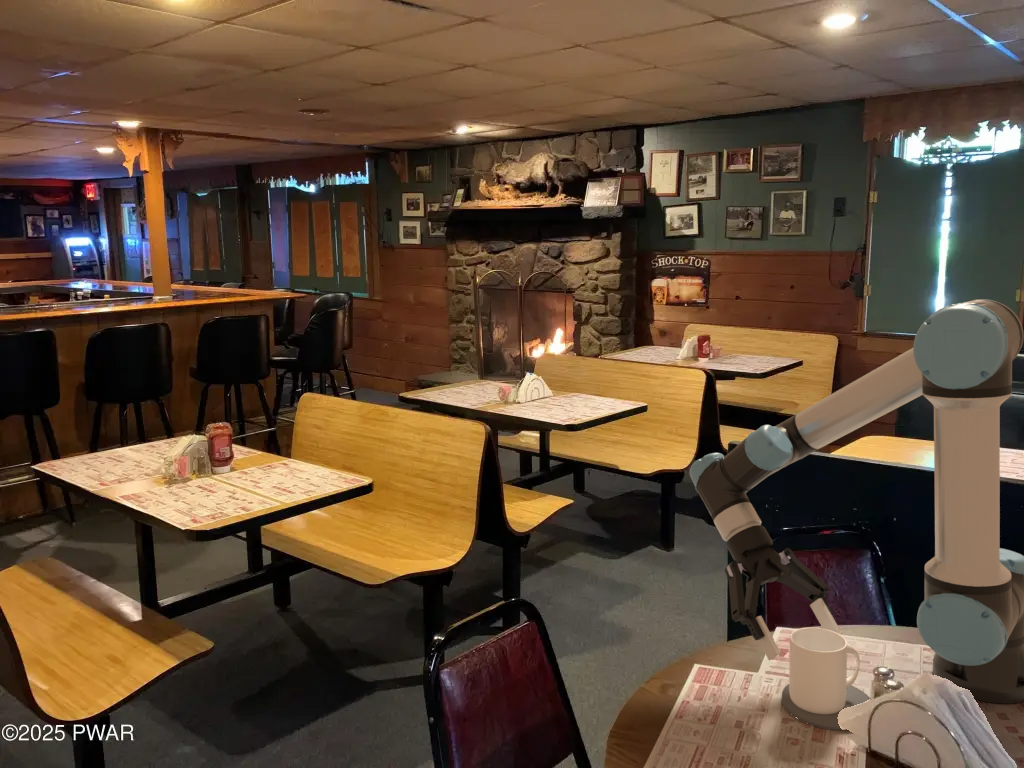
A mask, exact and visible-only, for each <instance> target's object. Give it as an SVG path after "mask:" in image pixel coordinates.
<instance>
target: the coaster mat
mask: <svg viewBox="0 0 1024 768" xmlns="http://www.w3.org/2000/svg"><path fill="white" fill-rule="evenodd" d="M869 699H871V700H872V698H871V697H870V696H869V695H868V694H867V693H865V692H864V691H863V690H861V689H859V688H857V687H856V686H853V684H852V685H851V686H850V687H849V688H847V689H846V703H845V706H844V707H843V709H844V708H847V707H851V706H854V705H857V704H860V703H863V702H865V701H867V700H869ZM781 703H783V704H782V706H783V705H784V706H783V708H784V707H785V708H784V709H785V711H786V710H787V711H788V712H789V713H790V714H789V713H788V712H787V711H786V712H787V713H788V714H789V715H791V714H792V715H793V716H794V717H793V716H792V715H791V716H792V717H793V718H795V717H797V718H798V719H799V720H798V719H797V720H798V721H800V720H801V721H800V722H802V721H803V722H802V723H804V722H805V723H804V724H806V723H808V724H807V725H809V724H810V725H809V726H811V725H813V726H812V727H815V726H817V727H816V728H818V727H820V728H819V729H822V728H824V729H823V730H828V729H829V730H831V731H840V732H841V731H842V729H841V728H840V726H839V724H838V719H837V717H838V714H839V712H840V711H841V710H840V711H839V712H837V713H834V714H826V715H824V714H815V713H811V712H807V711H805V710H803V709H801V708H799V707H798V706H796V705H795V704H794V703H793V701H792V700H791V698H790V693H789V683H788V684H786V686H784V688H783V689H782V692H781ZM829 730H828V731H829ZM842 732H843V731H842Z"/></svg>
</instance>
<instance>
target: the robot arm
mask: <svg viewBox="0 0 1024 768" xmlns="http://www.w3.org/2000/svg"><path fill="white" fill-rule="evenodd" d="M1023 343H1024V329H1023V325H1022V322H1021V320H1020V318H1019V316H1018V315H1017V314H1016V313H1015V312H1014V311H1013V310H1012V309H1011V308H1010V307H1008V305H1005V304H1004V303H1001V302H998V301H996V300H992V299H984V298H981V299H973V300H968V301H964V302H959V303H955V304H953V303H952V304H950V305H947V306H944V307H942V308H940V309H938V310H937V311H935V312H934V313H932V314H931V315H930V316H929V317H928V318H927V319H926V320H924V321H923V323H922V324H921V325H920V327H919V329H918V330H917V332H916V334H915V336H914V340H913V347H912V348H910V349H908V350H907V351H905V352H903V353H901V354H899V355H898V356H896V357H895V358H893V359H891V360H888V361H887V362H885V363H883V364H882V365H881V366H878V367H877V368H875V369H873V370H871V371H870V372H868V373H866V374H865V375H863V376H861V377H859V378H857V379H856V380H854V381H852V382H851V383H848V384H847V385H845V386H843V387H842V388H840V389H838V390H836V391H834V392H833V393H831V394H829V395H828V396H826V397H824V398H823V399H821V400H819V401H817V402H815V403H814V404H812V405H810V406H809V407H807V408H805V409H804V410H802V411H800V412H798V413H797V414H795V415H793V416H790V417H789V418H787V419H786V420H784V421H782V422H780V423H779V424H776V425H775V426H772V425H770V424H764V425H761V426H760V427H759V428H757V429H756V430H754V431H753V432H750V433H749V434H748V435H747V437H746V438H745V439H743V440H742V441H741V442H740V443H739V444H737V445H736V446H735V447H734V448H733V449H732V450H730V451H729V452H728V453H727V454H726V455H724V454H723V453H721V452H712V453H711V452H710V453H708V454H706V455H704V456H703V457H701V458H699V459H697V460H695V461H694V462H693V463H692V465H691V466H690V468H689V476H690V478H691V481H692V483H693V485H694V488H695V492H696V493H697V494H698V496H699V497H700V498H701V501H702V502H703V504H704V506H705V508H706V509H707V511H708V513H709V515H710V516H711V519H712V521H713V523H714V525H715V527H716V529H717V530H718V532H719V535H720V537H721V538H722V540H723V541H724V542H726V545H725V546H726V548H727V550H728V552H729V554H730V555H731V556H732V557H731V558H732V559H733V561H731V562H730V563H729V564H728V565H727V566H726V567H725V569H724V572H725V575H726V576H727V580H728V587H729V599H730V613H731V619H732V621H733V622H735V623H736V622H740V624H741V625H743V626H745V625H746V626H747V627H748V629H749V631H750V634H751V635H752V637H753V639H754V640H755V641H758V643H759V644H760V646H761V648H762V650H763V652H764V653H765V654H764V655H765V656H766V658H767V660H768V661H770V660H773V659H775V658H777V656H779V655H781V651H780V649H779V647H778V645H777V643H776V641H775V639H774V637H773V635H772V633H771V632H770V630H769V628H768V626H767V624H766V622H765V620H764V618H763V617H762V615H758V616H757V608H758V602H759V595H760V588H761V586H763V585H765V584H766V583H773V582H777V583H782V584H784V585H785V586H787V587H789V588H790V589H791V590H793V591H795V592H796V593H797V594H799V595H801V596H803V597H804V598H805V599H807V600H809V601H810V602H812V603H810V604H809V607H810V609H811V610H812V611H813V614H814V615H815V617H816V619H817V621H818V623H819V625H821V628H822V629H827V630H830V631H833V632H836V633H838V634H840V635H841V636H842V634H843V632H842V631H841V629H840V627H839V625H838V623H837V622H836V620H835V619H834V617H833V616H834V613H833V610H832V609H831V607H830V605H829V604H828V601H826V598H825V597H826V595H827V594H828V593H829V592H830V590H831V589H830V586H829V585H828V584H826V583H825V582H824V581H823V580H822V579H821V578H819V577H818V576H817V575H816V574H815V572H813V571H812V570H811V569H810V568H808V567H807V566H806V565H805V564H804V563H803V562H802V561H801V560H799V559H798V558H797V556H796V555H795V553H794V552H793V550H792V549H791V548H789V547H786V548H785V549H784V550H783V551H782V552H779V553H778V552H777V551H776V550H775V548H774V543H773V542H774V541H773V539H772V538H771V536H770V535H769V533H768V530H767V528H766V527H765V526H763V525H762V519H761V518H760V517H759V515H758V513H757V511H756V509H755V507H754V506H753V504H752V503H751V501H750V499H749V497H748V495H747V493H748V492H749V491H751V490H753V488H754V487H756V486H757V485H759V484H760V483H761V482H762V481H764V480H765V479H767V478H768V477H769V476H771V475H773V474H775V473H777V472H779V471H780V470H781V469H783V468H786V467H788V466H789V465H791V464H793V463H796V462H798V461H800V460H803V459H804V458H805V457H808V456H809V455H810V454H813V453H814V452H816V451H817V450H819V449H822V448H824V447H825V446H827V445H828V444H831V443H833V442H835V441H837V440H838V439H841V438H842V437H844V436H846V435H849V434H850V433H852V432H854V431H856V430H858V429H860V428H861V427H863V426H865V425H867V424H869V423H871V422H873V421H874V420H877V419H878V418H880V417H882V416H885V415H887V414H888V413H890V412H893V411H894V410H896V409H898V408H900V407H902V406H904V405H906V404H908V403H909V402H911V401H913V400H915V399H917V398H919V397H921V396H923V397H924V398H925V399H927V400H928V401H929V402H930V403H931V404H932V406H933V441H934V442H933V446H934V447H933V453H934V454H933V455H934V458H933V459H934V462H933V463H934V465H933V466H934V468H933V469H934V471H933V473H934V550H935V551H934V556H933V557H932V558H931V559H930V560H928V561H926V563H925V564H924V600H923V601H922V602H921V603H920V605H919V607H918V611H917V616H916V625H917V630H918V632H919V635H920V637H921V639H922V640H923V642H924V643H925V645H927V646H928V647H930V649H931V650H932V651H934V655H933V659H932V674H935V675H937V676H940V677H942V678H946V679H948V680H950V681H952V682H953V683H954V684H956V685H957V686H959V687H962V688H965V689H968V690H970V692H971V693H972V695H973V696H974V698H975V699H974V700H977V701H982V702H987V703H994V704H995V703H996V704H1017V703H1023V702H1024V555H1023V554H1021V553H1019V552H1016V551H1013V550H1010V549H1006V548H1001V547H1000V543H1001V542H1000V541H1001V540H1000V534H1001V533H1000V532H1001V531H1000V529H1001V528H1000V525H1001V524H1000V523H1001V522H1000V521H1001V520H1000V519H1001V517H1000V516H1001V513H1000V511H1001V509H1000V508H1001V507H1000V503H1001V502H1000V497H1001V496H1000V494H1001V493H1000V492H1001V489H1000V488H1001V487H1000V485H1001V483H1000V482H1001V481H1000V480H1001V478H1000V476H1001V475H1000V473H1001V471H1000V469H1001V468H1000V467H1001V465H1000V464H1001V461H1000V454H1001V453H1000V451H1001V449H1000V448H1001V447H1000V446H1001V443H1000V442H1001V437H1000V435H1001V434H1000V433H1001V432H1000V429H1001V428H1000V427H1001V426H1000V424H1001V422H1000V420H1001V418H1000V417H1001V416H1000V415H1001V413H1000V411H1001V409H1000V407H1001V405H1002V404H1003V403H1004V402H1005V401H1007V400H1008V399H1009V398H1010V397H1011V396H1012V395H1013V361H1014V360H1015V359H1016V358H1017V357H1018V354H1020V351H1021V349H1022V346H1023ZM742 575H745V576H746V581H745V588H746V589H745V590H746V591H745V594H744V586H743V585H744V583H743V576H742Z"/></svg>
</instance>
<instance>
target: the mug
mask: <svg viewBox="0 0 1024 768" xmlns="http://www.w3.org/2000/svg"><path fill="white" fill-rule="evenodd" d="M848 654H850V655H852V656H853V657H854V658H855V661H856V668H855V671H854V672H853V673H852V674H851V675H850V676H849V677H847V673H848V672H847V671H848V669H847V667H848ZM860 663H861V661H860V655H859V652H858V650H857V649H856V648H855V647H854V646H853V645H852V644H849V643H848V642H847V639H846V638H845V637H844V636H843V635H842V634H841V635H840V634H838V633H836V632H833V631H830V630H827V629H823V628H822V627H821V628H820V627H802V628H797V629H795V630H793V631H792V632H791V633H790V635H789V679H788V681H789V683H788V684H789V693H790V698H791V700H792V701H793V703H794V704H795V705H796V706H798V707H799V708H801V709H803V710H805V711H807V712H811V713H815V714H824V715H826V714H834V713H837V712H839V711H840V710H842V709H843V707H844V706H845V703H846V689H847V688H849V687H850V686H851V685H852V686H853V684H854V683H855V681H856V680H857V678H858V675H859V671H860V665H861V664H860Z"/></svg>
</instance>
